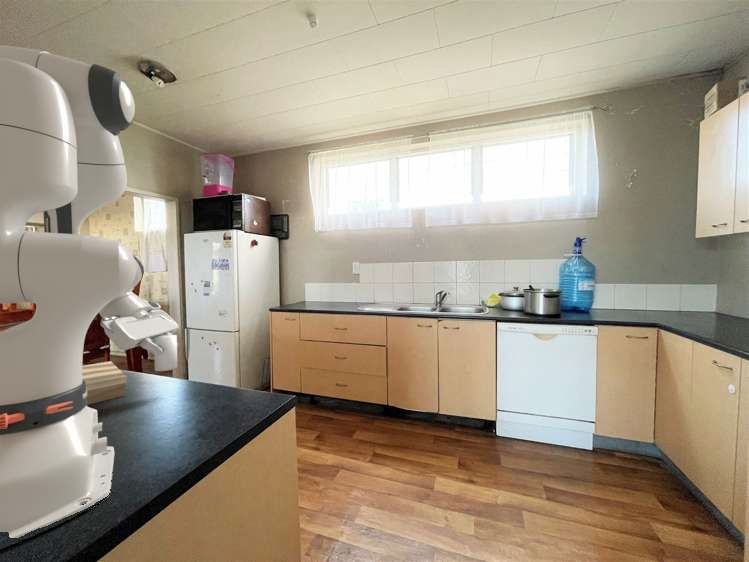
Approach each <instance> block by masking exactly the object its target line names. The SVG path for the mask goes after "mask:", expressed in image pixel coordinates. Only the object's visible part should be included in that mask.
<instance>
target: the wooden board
mask: <svg viewBox="0 0 749 562" xmlns="http://www.w3.org/2000/svg"><path fill="white" fill-rule="evenodd" d="M82 380H84V381H85V382H86V388H87V406H88V405H92V404H97V403H100V402H105V401H109V400H113V399H117V397H118V398H121V396H122V397H125V396H126V394H125V393H126V389H125V387H126V385H125V384H126V383H128V376H127V375H126V373H124V372H123V371H122V370H121V369H120V368H118V367H117V365H116V364H114V363H113V362H112V361H111V360H110V361H104V362H98V363H97V362H96V363H92V364H85V365H82Z"/></svg>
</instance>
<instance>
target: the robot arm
mask: <svg viewBox="0 0 749 562" xmlns="http://www.w3.org/2000/svg"><path fill="white" fill-rule="evenodd" d="M135 112H136V103H135V99H134V97H133V94H132V91H131V89H130V86H129V84H128V82H127V81H126V80H125V79H124V78H123V77H122V76H121V75H120V73H118V72H116V71H115V70H112V69H111V68H108V67H105V66H103V65H99V64H97V63H93V64H90V63H87V62H83V61H80V60H77V59H73V58H71V57H66V56H63V55H59V54H53V53H51V52H49V51H45V50H40V49H35V48H28V47H22V46H14V45H12V46H11V45H3V44H0V304H22V303H25V304H26V303H28V304H29V303H30V304H35V306H36V307H35V313H34V315H33V316H32V318H30V319H29V320H27V321H24V322H22V323H18V324H17V325H14V326H11V327H9V328H6V329H4V330H2V331H0V532H8V533H9V537H10V538H19V537H21V536H24V535H25V534H27V533H29V532H31V531H34V530H36V529H38V528H42V527H45V526H48V525H50V524H52V523H54V522H56V521H59V520H61V519H63V518H65V517H68V516H70V515H73V514H75V513H77V512H80V511H82V510H84V509H86V508H88V507H90V506H92V505H94V504H95V503H96V502H98V501H100V500H102V499H103V498H105V497H107V496H108V495H109V493H110V494H111V491H110V489H112V482H111V480H112V481H113V473H112V472H114V463H115V448H114V446H109V445H108V436H103V437H100V438H99V432H101V431H103V425H104V424H103V422H102V421H101V422H98V410H97V409H95V408H92V407H89V406H88V405H87V388H86V382H85V381H84V380H82V366H83V357H84V356H83V355H84V347H85V345H84V344H85V339H86V335H87V333H88V330H89V328H90V325H91V324H92V322H93V320H94V319H95V318H96V316H97V315H98V314H99V315H100V317H101V320H100V326H101V327H102V328H103V329H104V333H105V335H106V336H107V337H108V338H109V340H110V341H111V342H112V343H113V344H114V345H115V346H116V347H117V348H119V349H120V350H123V351H127V350H130V349H134V348H137V347H139V346H140V347H141V348H142V349H144V350H146V351H150V352H151V353H153V355H154V354H155V355H159V354H161V353H162V352H163V351H164V348H162V346H161V345H159V346H158V345H156V344H155V343H154V337H157V336H163V335H175V333H176V332H177V331H178V330H179V328H180V327H179V325H178V323H177V322H176V320H174V318H172V316H171V315H169V314H168V313H167V312H166V311H165V310H163V309H161V308H162V306H161V305H160V304H159V303H158V302H155V301H154V302H153V301H149V300H146V299H144V298H141V297H139V296H138V295H137V294H136V293H134V292H133V289H134V288H136V287H137V286H138V285H139V283H140V282H141V281H142V279H143V277H144V275H145V274H144V273H145V267H144V265H143V263H142V262H141V260H140V259H139V258H138V257H137V256H135V255H134V254H133V253H132V252H131V250H130V249H129V248H128V247H127V246H126V245H125V244H124V243H122V242H121V241H119V240H113V239H109V238H106V237H99V236H94V235H90V234H81V228H82V225H83V224H84V222H85V221H86V220H87V219H88V218H89V216H91V215H93V214H94V213H95V212H96V211H99V210H100V209H102V208H104V207H106V206H108V205H110V204H112V203H114V202H115V201H117V200H118V199H120V198H121V196H122V195H124V194H125V192H126V190H127V185H128V175H127V174H128V173H127V168H126V164H125V155H124V153H123V148H122V145H121V142H120V137H119V135H120V134H121V132H122V131H123V132H124V131H126V130H128V128H129V127H130V126H131V125H132V124H133V122H134V118H135ZM39 213H43V229H44V232H43V231H41V232H40V231H29V230H25V227H26V225H27V223H28V221H29V220H30V219H32V217H33V216H35V215H37V214H39ZM178 346H179V342H177V347H178ZM109 496H110V495H109ZM109 496H108V497H109ZM108 497H107V498H108ZM85 503H86V504H85ZM82 504H84V505H82Z"/></svg>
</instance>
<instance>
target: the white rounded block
mask: <svg viewBox="0 0 749 562" xmlns="http://www.w3.org/2000/svg"><path fill="white" fill-rule="evenodd" d="M153 343H155V344H156V345H158V346H159V345H161V346H162V348H164V351H163V352H162V353H161V354H159V355H155V354H154V353H153V355H154V371H155V372H166V371H172V370H174V369H178V346H177V343H178V335H177V334H173V335H163V336H157V337H154V341H153Z"/></svg>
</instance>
